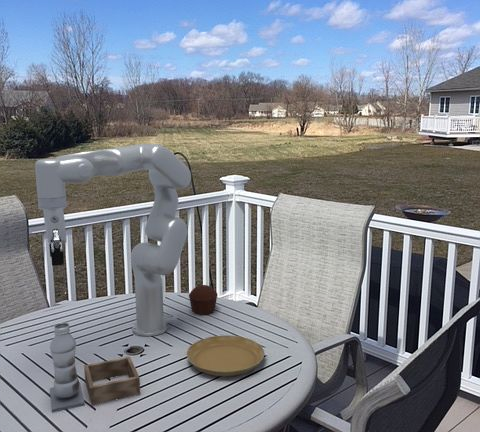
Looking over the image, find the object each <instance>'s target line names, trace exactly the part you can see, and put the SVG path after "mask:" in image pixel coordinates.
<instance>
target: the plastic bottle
mask: <svg viewBox="0 0 480 432" xmlns="http://www.w3.org/2000/svg"><path fill="white" fill-rule="evenodd" d="M53 329H54V332H53V334H54V337H53V338H52V340H51V342H50V343H49V345H50V346H49V350H50V354H51V358H52V362H53V369H54V372H53V373H54V375H53V376H54V377H53V378H54V380H53V387H54V392H55V395H56V396H57V397H58V398H61V399H66V398H70V397H72V396H74V395H75V394H76V393H77V392H78V390H79V382H80V380H79V377H78V373H77V368H76V347H77V344H76V343H77V342H76V340H75V338H74V336H73V335H72V334H71V333H70V332H71V329H70V324H69V323H68V322H60V323H57V324H55V325H54V328H53Z"/></svg>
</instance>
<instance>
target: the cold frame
mask: <svg viewBox="0 0 480 432" xmlns="http://www.w3.org/2000/svg"><path fill="white" fill-rule="evenodd" d="M83 369H84V379H85V380H84V381H85V382H84V383H85V385H86V390H87V395H88V399H89V402H90V403H89V404H90V406H96V405H100V404H104V403H108V401H109V402H114V401H117V400H116V399H118V400H122V399H126V397H127V398H130V396H131V397H135V395H136V396H139V395H141V382H140V381H141V379H140V376H139V373H138V371H137V369H136V367H135V365H134V362H133V360H132V358H131V356H125V357H120V358H115V359H110V360H109V359H108V360H105V361H101V362H99V361H98V362H95V363H90V364H85V365H83ZM126 375H127V376H128V377H127V378H123V379H119V380H113V381H109V382H104V383H100V384H99V383H98V384H93V382H97V381H103V380H107V378H108V379H111V377H113V378H117V377H122V376H126ZM116 376H117V377H116ZM113 400H114V401H113Z"/></svg>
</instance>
